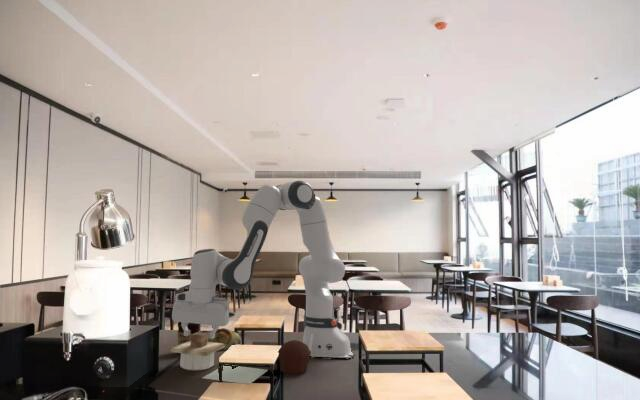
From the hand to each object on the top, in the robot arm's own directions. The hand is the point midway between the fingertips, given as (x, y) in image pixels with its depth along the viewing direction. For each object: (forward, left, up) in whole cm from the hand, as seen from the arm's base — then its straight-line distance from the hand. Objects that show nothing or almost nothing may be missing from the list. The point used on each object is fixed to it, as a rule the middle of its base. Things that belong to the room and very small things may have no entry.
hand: (199, 336), depth 146 cm
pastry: (+5, -30, -10) cm, 32 cm away
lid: (0, 0, -4) cm, 4 cm away
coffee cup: (+13, -15, -10) cm, 22 cm away
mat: (-16, +3, -10) cm, 19 cm away
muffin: (-32, -8, -10) cm, 35 cm away
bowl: (0, 0, -10) cm, 10 cm away
